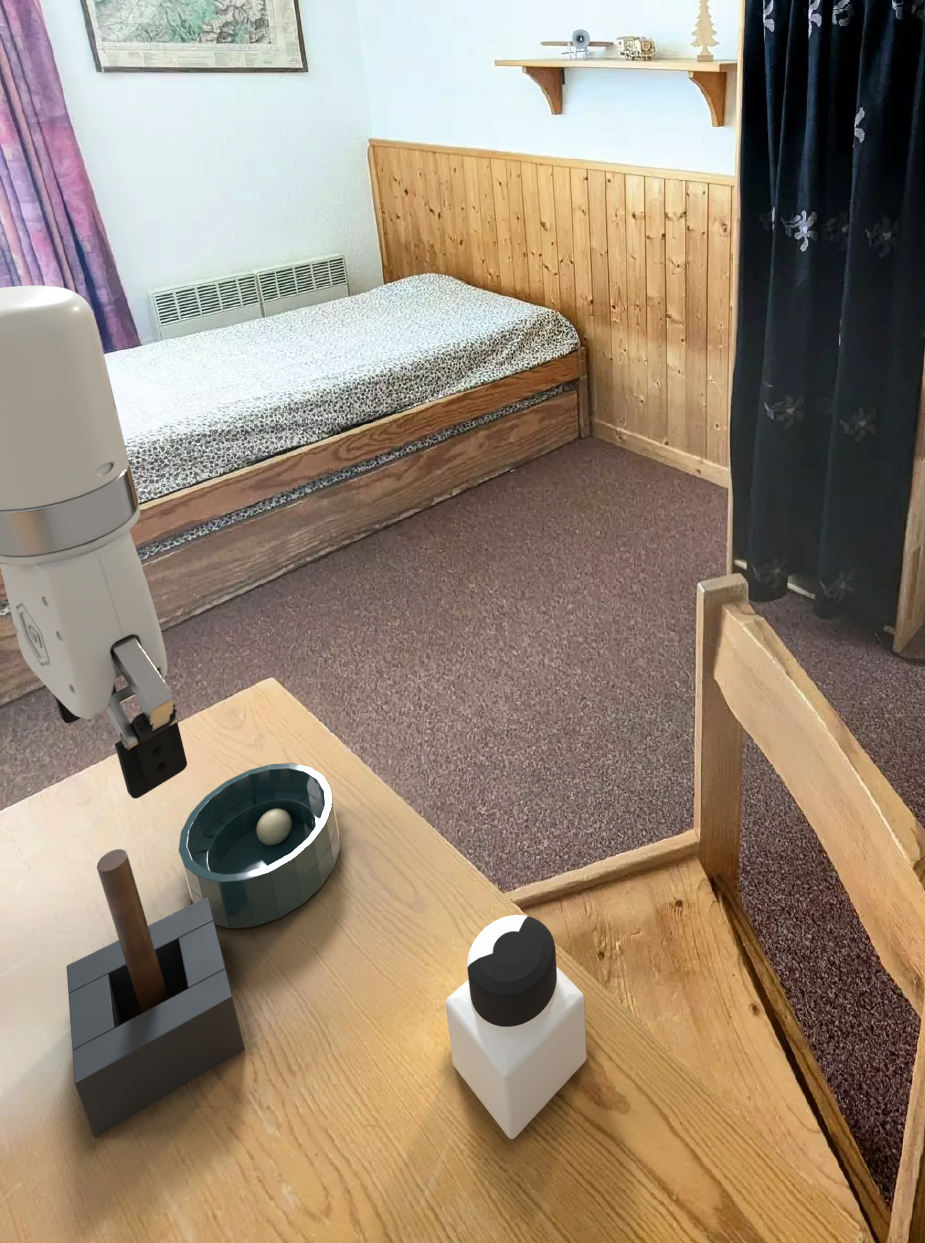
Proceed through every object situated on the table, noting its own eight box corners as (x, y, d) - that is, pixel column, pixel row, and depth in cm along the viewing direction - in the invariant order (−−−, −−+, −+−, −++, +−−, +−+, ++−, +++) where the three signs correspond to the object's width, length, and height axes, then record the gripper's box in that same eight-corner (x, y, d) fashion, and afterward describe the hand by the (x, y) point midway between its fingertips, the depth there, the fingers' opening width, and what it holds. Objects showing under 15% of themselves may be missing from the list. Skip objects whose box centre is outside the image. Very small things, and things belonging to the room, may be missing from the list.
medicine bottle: (588, 1060, 63) (584, 946, 59) (511, 1145, 59) (501, 1027, 54) (527, 992, 68) (519, 881, 64) (451, 1065, 63) (437, 951, 59)
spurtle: (146, 1049, 64) (91, 873, 58) (157, 1023, 66) (105, 849, 60) (171, 1047, 64) (119, 871, 58) (181, 1021, 66) (132, 847, 60)
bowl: (166, 938, 72) (152, 886, 70) (224, 814, 84) (213, 767, 82) (318, 927, 73) (308, 876, 71) (355, 806, 85) (347, 759, 82)
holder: (84, 1019, 66) (66, 965, 64) (220, 948, 71) (207, 896, 69) (95, 1141, 59) (74, 1084, 57) (245, 1051, 64) (232, 996, 62)
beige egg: (254, 854, 79) (249, 829, 78) (265, 826, 82) (260, 802, 81) (288, 851, 79) (283, 827, 78) (298, 824, 82) (293, 800, 81)
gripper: (-72, 486, 51) (4, 717, 57) (42, 594, 41) (119, 859, 47) (70, 443, 56) (126, 657, 62) (201, 528, 46) (251, 773, 52)
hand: (123, 744), depth 54 cm, fingers open, 9 cm apart
